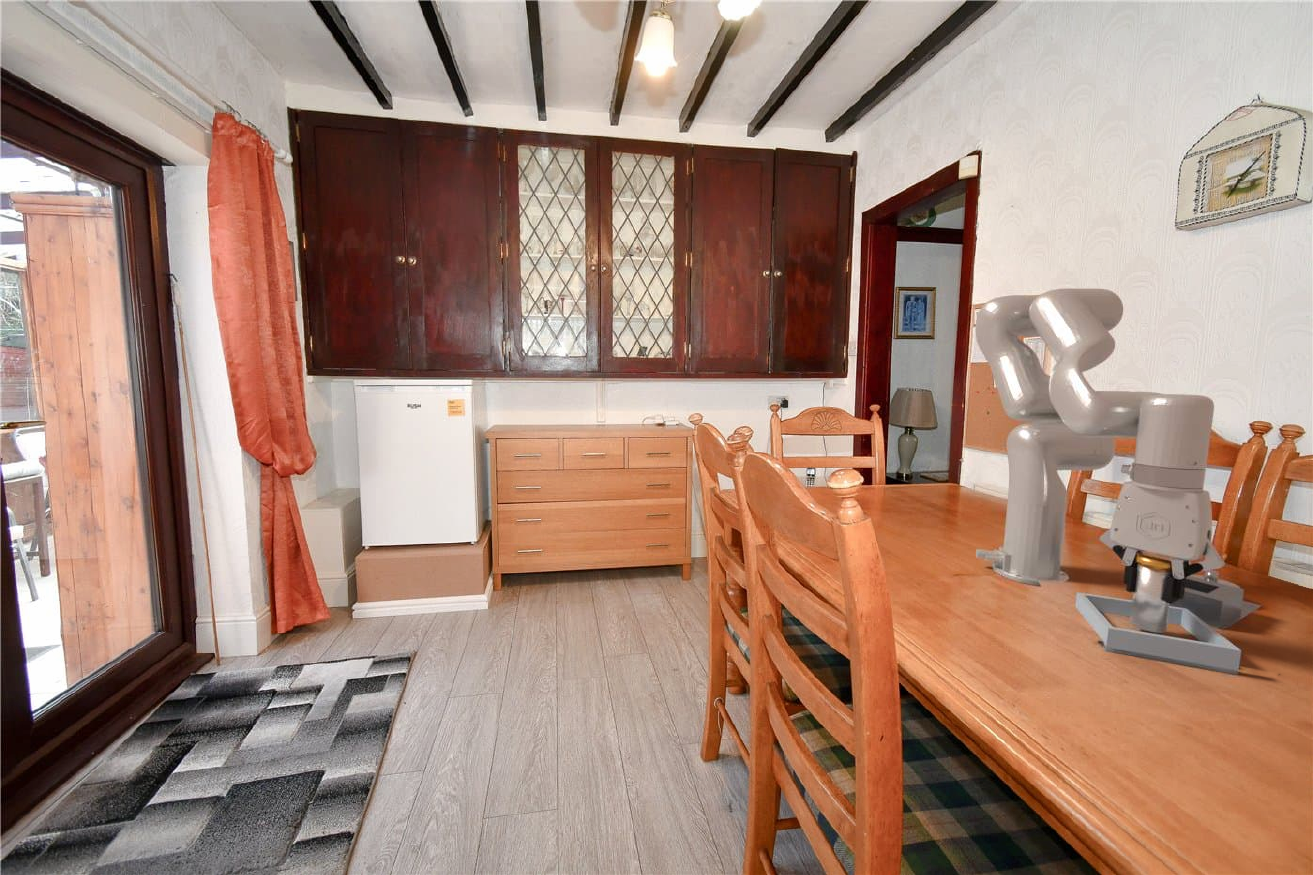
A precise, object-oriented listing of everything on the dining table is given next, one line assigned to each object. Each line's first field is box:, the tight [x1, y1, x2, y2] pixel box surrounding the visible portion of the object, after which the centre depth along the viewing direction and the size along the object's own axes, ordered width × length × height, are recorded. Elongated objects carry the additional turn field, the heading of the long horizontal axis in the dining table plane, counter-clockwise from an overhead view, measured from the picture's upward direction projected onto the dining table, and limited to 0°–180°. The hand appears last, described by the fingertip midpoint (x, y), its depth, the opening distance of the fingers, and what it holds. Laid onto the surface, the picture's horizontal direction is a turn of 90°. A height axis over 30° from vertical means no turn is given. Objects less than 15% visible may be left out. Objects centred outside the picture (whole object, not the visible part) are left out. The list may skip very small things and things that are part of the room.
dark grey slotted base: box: [1170, 569, 1262, 631], centre depth 88 cm, size 19×11×6 cm, turn 118°
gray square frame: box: [1074, 591, 1242, 676], centre depth 77 cm, size 14×14×4 cm
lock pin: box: [1129, 552, 1172, 634], centre depth 77 cm, size 5×5×11 cm
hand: (1151, 594), depth 77 cm, fingers closed on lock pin, 3 cm apart
